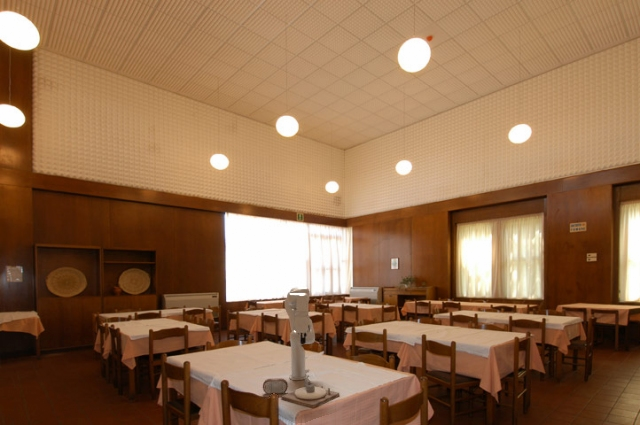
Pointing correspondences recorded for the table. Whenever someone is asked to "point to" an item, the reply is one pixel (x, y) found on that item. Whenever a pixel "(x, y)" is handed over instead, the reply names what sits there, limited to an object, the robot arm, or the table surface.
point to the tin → (275, 386)
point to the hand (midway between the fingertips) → (303, 343)
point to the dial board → (312, 402)
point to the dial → (310, 391)
